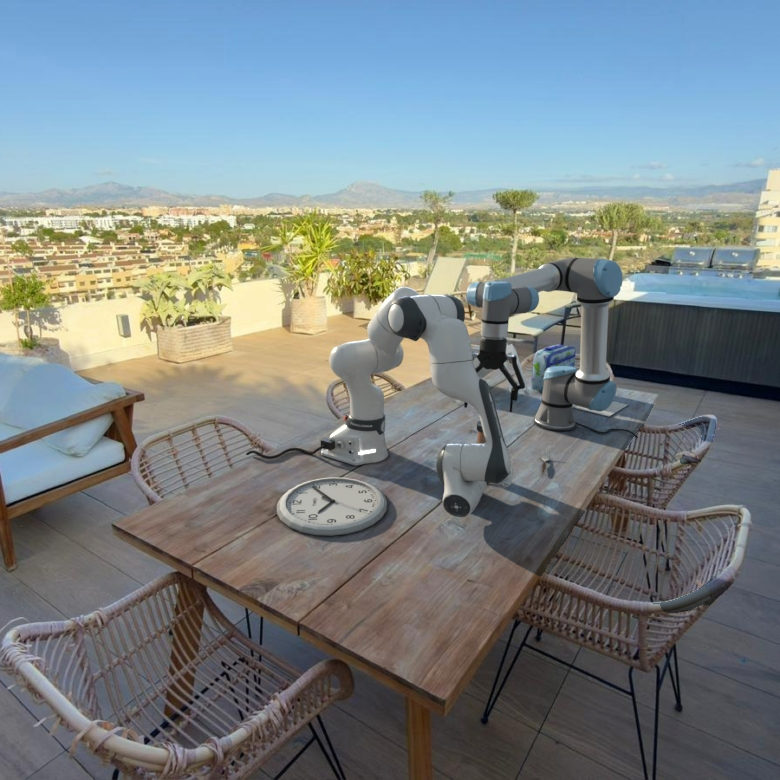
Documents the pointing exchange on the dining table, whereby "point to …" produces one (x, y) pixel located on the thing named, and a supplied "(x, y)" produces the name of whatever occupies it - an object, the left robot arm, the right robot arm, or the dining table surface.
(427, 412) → the dining table surface
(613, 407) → the invitation card
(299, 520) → the wall clock
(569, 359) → the lunch box
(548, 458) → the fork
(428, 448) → the dining table surface
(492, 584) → the dining table surface
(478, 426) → the lid
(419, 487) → the dining table surface
